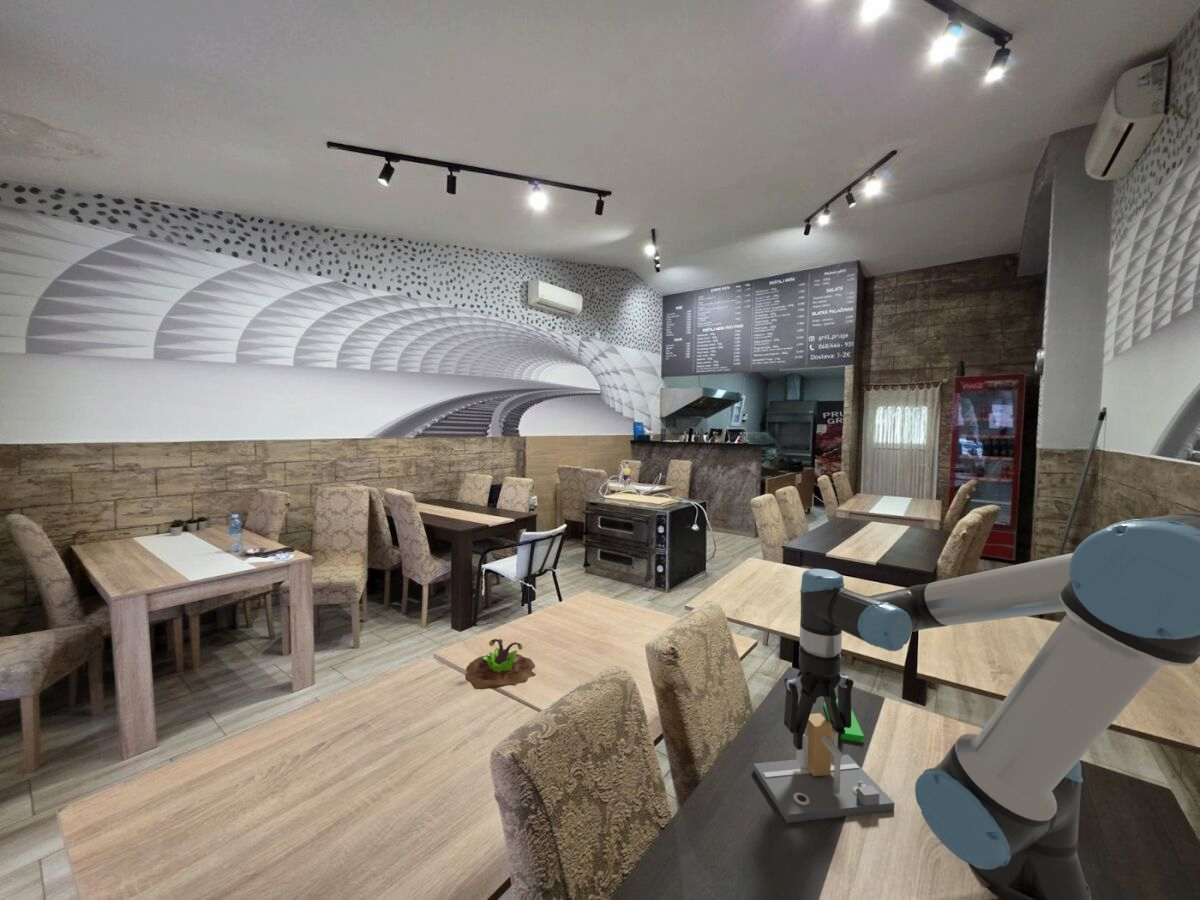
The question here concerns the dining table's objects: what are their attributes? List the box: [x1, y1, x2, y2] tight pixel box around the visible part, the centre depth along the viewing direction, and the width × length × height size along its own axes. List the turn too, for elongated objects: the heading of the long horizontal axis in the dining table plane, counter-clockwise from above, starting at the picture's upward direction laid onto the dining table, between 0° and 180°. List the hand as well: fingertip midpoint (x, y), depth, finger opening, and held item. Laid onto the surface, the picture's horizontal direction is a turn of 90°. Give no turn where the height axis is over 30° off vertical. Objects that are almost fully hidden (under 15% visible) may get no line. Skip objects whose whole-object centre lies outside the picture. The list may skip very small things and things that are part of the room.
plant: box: [464, 638, 536, 690], centre depth 134 cm, size 20×20×11 cm
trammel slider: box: [805, 712, 843, 793], centre depth 93 cm, size 9×4×10 cm, turn 8°
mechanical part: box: [823, 697, 865, 744], centre depth 113 cm, size 12×6×8 cm, turn 166°
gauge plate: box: [753, 754, 895, 824], centre depth 93 cm, size 13×21×4 cm, turn 98°
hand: (816, 761), depth 96 cm, fingers open, 6 cm apart
